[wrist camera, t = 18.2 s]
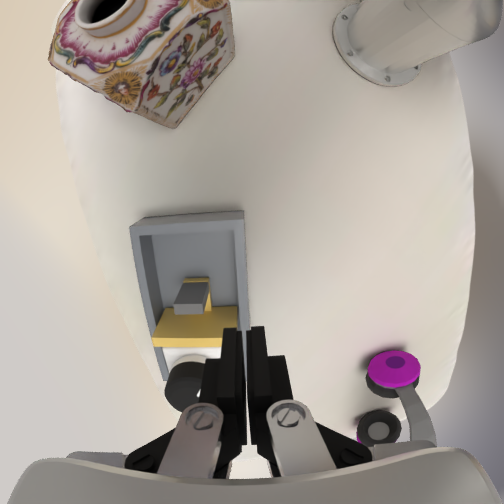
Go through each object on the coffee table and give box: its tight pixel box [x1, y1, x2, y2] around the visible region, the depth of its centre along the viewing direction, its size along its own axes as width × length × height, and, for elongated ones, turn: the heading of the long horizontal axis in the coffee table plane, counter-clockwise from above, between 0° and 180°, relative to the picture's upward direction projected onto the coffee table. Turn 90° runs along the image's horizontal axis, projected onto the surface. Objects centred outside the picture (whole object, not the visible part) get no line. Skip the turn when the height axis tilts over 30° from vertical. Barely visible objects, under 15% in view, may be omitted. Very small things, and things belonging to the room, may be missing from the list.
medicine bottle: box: [162, 347, 221, 413], centre depth 31 cm, size 7×7×12 cm
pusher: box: [151, 278, 238, 347], centre depth 31 cm, size 5×9×7 cm, turn 93°
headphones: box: [356, 350, 437, 447], centre depth 34 cm, size 21×9×20 cm, turn 8°
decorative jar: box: [48, 0, 235, 128], centre depth 19 cm, size 12×12×18 cm
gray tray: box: [129, 211, 250, 381], centre depth 34 cm, size 21×12×5 cm, turn 2°
